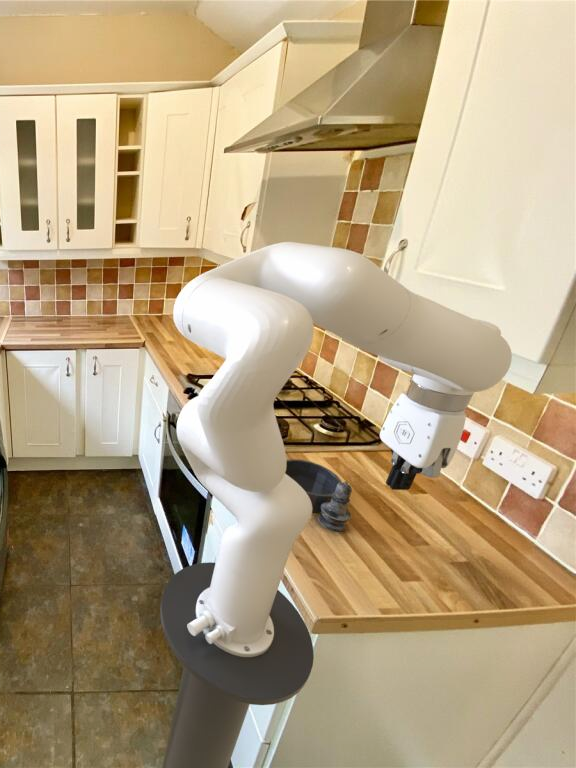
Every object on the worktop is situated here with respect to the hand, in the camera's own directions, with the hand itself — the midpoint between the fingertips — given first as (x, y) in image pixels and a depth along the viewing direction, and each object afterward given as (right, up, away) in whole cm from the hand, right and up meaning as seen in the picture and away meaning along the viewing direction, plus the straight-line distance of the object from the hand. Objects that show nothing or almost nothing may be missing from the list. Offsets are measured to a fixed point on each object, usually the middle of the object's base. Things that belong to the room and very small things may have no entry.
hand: (397, 486), depth 74 cm
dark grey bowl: (+1, -9, +30) cm, 32 cm away
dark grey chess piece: (+2, -14, +21) cm, 25 cm away
